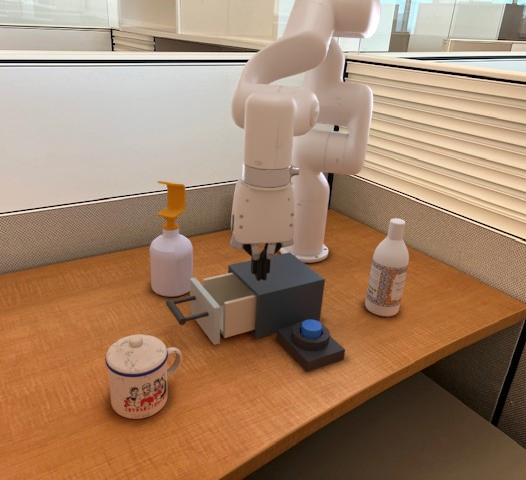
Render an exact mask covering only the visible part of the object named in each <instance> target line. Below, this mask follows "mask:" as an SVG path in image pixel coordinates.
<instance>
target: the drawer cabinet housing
mask: <svg viewBox="0 0 526 480" xmlns="http://www.w3.org/2000/svg"><path fill="white" fill-rule="evenodd" d="M227 273H233V274H234V275H235V276H236V277H237V278H238V279H239V280H240V281H241V282H242V283H243V284H244V285H245V286H246V287H248V288H249V289H250V290H251V291H252V292H253V293H254V294H255V295H256V296H257V303H256V319H255V330H251V331H249V332H250V334H251V335H252V336H253V337H254V339H256V340H258V339H261V338H264V337H268V336H271V335H275V334H277V330H279V329H283V328H286V327H290V326H293V325H296V324H297V323H299V322H302V321H305V320H309V319H311V320H316V321H318V322H320V320H321V314H322V308H323V307H322V306H323V298H324V292H325V291H324V290H325V282H326V279H325V278H324V277H323V276H322V275H320V273H318V272H317V271H315V270H314V269H313V268H311V267H310V266H308V265H307V264H306V263H304V262H302V261H300V260H299V259H298V258H296V257H295V256H294V255H292V254H291V253H290V252H289V253H284V254H281V253H279V254H274V256H273V258H272V259H271V261H270V273H267V279H266V280H262V279H261V280H260V281H257V280H256V277H255V275H254V274H252V273H251V259H250V260H246V261H241V262H236V263H232V264H227Z"/></svg>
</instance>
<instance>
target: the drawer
mask: <svg viewBox="0 0 526 480" xmlns="http://www.w3.org/2000/svg"><path fill="white" fill-rule="evenodd" d="M183 303H189V313H190V315H188V316H184V314H183V313H182V311H181V310H180V308H179V307H178V306H177V305H179V304H183ZM256 303H257V296H256V295H255V294H254V293H253V292H252V291H251V290H250V289H249V288H248V287H246V286H245V285H244V284H243V283H242V282H241V281H240V280H239V279H238V278H237V277H236V276H235V275H234V274H233V273H228V272H227V273H223V274H218V275H214V276H209V277H205V278H203V279H202V283H201V282H200V281H199V280H198V279H197V277H193V278H191V279H190V291H189V296H187V297H183V298H178V299H174V300H173V299H172V298H168V299H166V301H165V305H166V307H167V308H168V309H169V311H170V313H171V314H172V315H173V317H174V318H175V320H176V322H178V324H179V325H180V326H184V325H186V324H187V322H191V321H194V320H195V321H196V323H197V324H198V325H199V327H200V328H201V330H202V331H203V332H204V334H205V335H206V336H207V338H208V339H209V340H210V342H211V343H212V344H213V346H215V345H219V344H221V335H222V336H223V338H224V339H227V338H229V337H233V336H237V335H241V334H244V333H248V332H250V331H251V330H255V319H256Z"/></svg>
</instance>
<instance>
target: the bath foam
mask: <svg viewBox="0 0 526 480" xmlns="http://www.w3.org/2000/svg"><path fill="white" fill-rule="evenodd" d="M405 228H406V221H405V220H404V219H402V218H396V217H395V218H394V217H393V218H391V219H390V220H389V224H388V230H387V236H386V237H385V238H384V239H382V240H381V241H380V242H379V244H378V245H377V246H376V248H375V250H374V251H373V255H372V260H371V265H370V272H369V277H368V282H367V288H366V295H365V301H364V302H365V303H364V306H365V308H366V309H367V310H368V312H370V313H371V314H374V315H376V316H378V317H379V316H380V317H393V316H395V315H397V314H398V313H399V311H400V306H401V301H402V296H403V292H404V287H405V282H406V278H407V273H408V268H409V263H410V262H409V261H410V254H409V249H408V247H407V245H406V243H405V241H404V239H403V238H404V234H405Z"/></svg>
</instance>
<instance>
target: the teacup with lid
mask: <svg viewBox="0 0 526 480" xmlns="http://www.w3.org/2000/svg"><path fill="white" fill-rule="evenodd" d="M107 349H108V350H107V351H106V353H105V358H104V362H105V365H106V367H107V377H108V385H109V394H110V395H109V396H110V404H111V407H112V409H113V410H114V411H115V413H117V414H118V415H119V416H121V417H123V418H127V419H132V420H137V419H138V420H139V419H145V418H149V417H152V416H153V415H155V414H157V413H158V412H159V411H160V410H162V409H163V408H164V406H165V405H166V403H167V401H168V398H169V397H168V396H169V393H168V378H169V377H171V376H173V375H174V374H176V372H177V371H178V370H179V369H180V367H181V365H182V361H183V353H182V351H181V350H180V349H179V348H177V347H175V346H174V347H173V346H172V347H167V346H166V344H165V343H164V342H163V341H162V340H161V339H159V338H158V337H156V336H153V335H149V334H141V333H139V334H132V335H127V336H124V337H121V338H120V339H118V340H116V341H114V343H112V344H111V345H110V346H109V347H108V348H107ZM171 355H175V359H174V362H173V363H172V364H171V366H170V367H169V368H168V365H167V364H168V363H167V362H168V361H167V360H168V358H169V356H171Z"/></svg>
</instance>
